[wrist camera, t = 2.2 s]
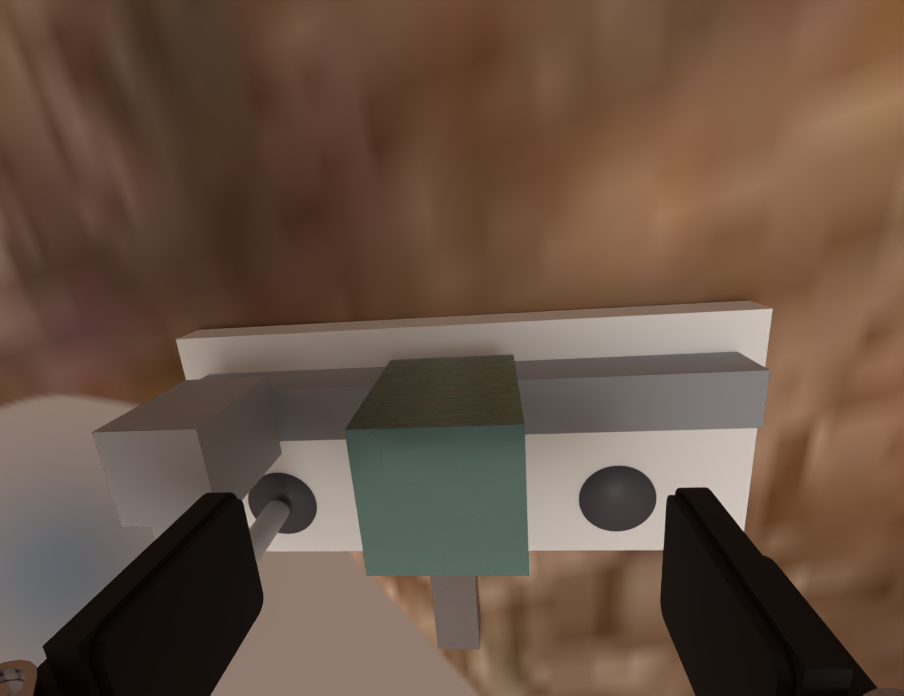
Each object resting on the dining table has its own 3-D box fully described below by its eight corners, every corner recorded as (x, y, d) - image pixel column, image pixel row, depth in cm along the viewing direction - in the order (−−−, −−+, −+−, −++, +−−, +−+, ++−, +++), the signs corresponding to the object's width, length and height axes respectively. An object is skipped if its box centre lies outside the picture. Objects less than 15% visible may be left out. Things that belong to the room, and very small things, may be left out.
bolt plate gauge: (198, 329, 19) (28, 400, 12) (749, 300, 17) (932, 365, 10) (246, 529, 22) (130, 681, 15) (723, 525, 20) (852, 700, 13)
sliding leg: (400, 344, 17) (344, 429, 10) (511, 339, 16) (524, 424, 10) (419, 519, 19) (382, 681, 12) (517, 518, 19) (532, 684, 12)
